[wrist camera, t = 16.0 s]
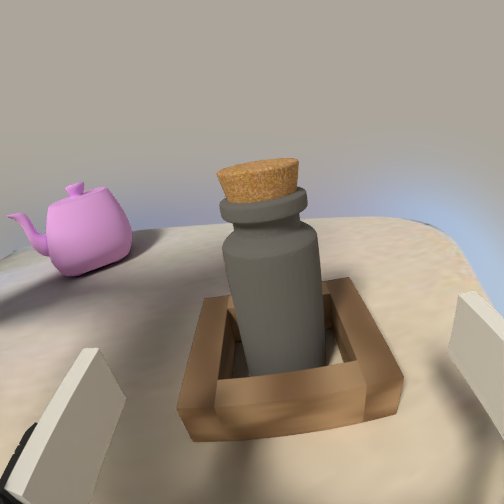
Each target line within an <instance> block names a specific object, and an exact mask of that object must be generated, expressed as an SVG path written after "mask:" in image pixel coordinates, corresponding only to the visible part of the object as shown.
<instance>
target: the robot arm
mask: <svg viewBox="0 0 504 504" xmlns="http://www.w3.org/2000/svg"><path fill="white" fill-rule="evenodd" d="M447 354H448V355H449V357H450V358H451V359H452V361H453V362H454V364H455V365H456V367H457V368H458V369H459V371H460V372H461V374H462V375H463V377H464V378H465V380H466V381H467V383H468V384H469V386H470V387H471V389H472V390H473V392H474V393H475V395H476V396H477V398H478V399H479V401H480V402H481V404H482V405H483V407H484V409H485V410H486V412H487V413H488V415H489V417H490V418H491V420H492V421H493V423H494V425H495V426H496V428H497V430H498V431H499V433H500V435H501V436H502V438H503V440H504V318H503V317H502V316H501V315H500V314H499V313H498V312H497V311H496V310H494V309H493V308H492V307H491V306H490V305H489V304H488V303H487V302H486V301H485V300H484V299H483V298H482V297H481V296H479V295H478V294H477V293H476V292H475V291H470V292H467V293H463V294H459V295H458V300H457V307H456V312H455V318H454V323H453V328H452V333H451V338H450V343H449V347H448V352H447ZM126 400H127V399H126V398H125V396H124V394H123V392H122V390H121V389H120V387H119V385H118V383H117V381H116V379H115V378H114V376H113V374H112V372H111V370H110V368H109V366H108V364H107V362H106V360H105V358H104V356H103V354H102V352H101V350H100V348H83V350H82V351H81V353H80V354H79V356H78V358H77V359H76V361H75V362H74V364H73V365H72V367H71V369H70V370H69V372H68V373H67V375H66V377H65V378H64V380H63V381H62V383H61V385H60V386H59V388H58V390H57V391H56V393H55V395H54V396H53V398H52V400H51V401H50V403H49V405H48V406H47V408H46V410H45V412H44V413H43V415H42V417H41V419H40V420H39V422H38V423H34V424H33V425H32V426H31V427H30V428H29V429H28V430H27V431H26V432H25V434H24V435H23V437H22V439H21V441H20V443H19V444H20V445H18V446H17V448H16V450H15V454H13V455H12V457H11V459H10V461H9V463H8V465H7V467H6V469H5V471H4V473H3V475H2V477H1V479H0V504H89V502H90V499H91V496H92V493H93V490H94V487H95V484H96V481H97V478H98V475H99V472H100V470H101V467H102V464H103V461H104V458H105V455H106V453H107V450H108V447H109V444H110V442H111V439H112V436H113V434H114V431H115V428H116V426H117V423H118V420H119V418H120V415H121V413H122V410H123V407H124V405H125V402H126Z"/></svg>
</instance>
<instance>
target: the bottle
mask: <svg viewBox="0 0 504 504" xmlns="http://www.w3.org/2000/svg"><path fill="white" fill-rule="evenodd" d="M298 163H299V162H298V160H297V159H293V158H280V159H269V160H261V161H254V162H248V163H244V164H239V165H235V166H231V167H227V168H224V169H222V170H220V171H218V172H217V177H218V179H219V181H220V184H221V186H222V189H223V191H224V193H225V196H226V198H225V199H223V200H222V201H221V202H220V212H221V216H222V218H223V219H224V220H225V221H227V222H230V223H233V227H234V231H233V232H232V233H231V234H230V235H229V236H228V237H227V238H226V240H225V241H224V243H223V246H222V250H223V256H224V261H225V267H226V272H227V277H228V281H229V286H230V291H231V295H232V300H233V304H234V309H235V313H236V318H237V322H238V326H239V331H240V335H241V340H242V344H243V348H244V353H245V357H246V361H247V365H248V369H249V373H250V376H251V377H255V376H263V375H271V374H279V373H286V372H293V371H300V370H306V369H313V368H319V367H324V366H326V348H325V327H324V309H323V294H322V280H321V267H320V257H319V248H318V239H317V233H316V231H315V230H314V229H313V228H312V227H311V226H310V225H308V224H306V223H304V222H302V221H300V217H299V213H300V212H302V211H303V210H304V209H305V208H306V207H307V203H308V202H307V194H306V191H305V189H303V188H301V187H297V179H298Z"/></svg>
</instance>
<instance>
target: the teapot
mask: <svg viewBox="0 0 504 504" xmlns="http://www.w3.org/2000/svg"><path fill="white" fill-rule="evenodd" d="M65 189H66V191H67V193H68V194H69V196H70V197H67V198H64V199H62V200H59V201H57V202H54V203H52V204H51V205H50V206H49V208H48V214H47V228H46V234H47V235H42V234H40V233H38V232H37V231H36V230H35V228H34V226H33V225H32V223H31V221H30V219H29V218H28V217H27V216H26V215H25V214H23V213H16V214H12V215H8V216H6V217H8V218H11V219H14V220H16V221H17V222H18V223H19V224H20V225H21V226H22V228H23V230H24V231H25V233H26V235H27V237H28V240H29V241H30V243H31V245H32V246H33V248H34V249H35V250H36V251H37V252H38V253H40V254H42V255H43V256H48V257H50V259H51V262H52V263H53V265H54V266H55V267H56V268H57V269H58V270H59V271H60V272H61V273H62V274H63V275H65V276H79V275H82V274H84V273H86V272H88V271H91V270H94V269H97V268H99V267H102V266H105V265H107V264H110V263H115V262H117V261H119V260H121V259H122V258H123V257H125V256H126V255H127V254H128V253H129V251H130V248H131V244H132V238H133V234H132V230H131V227H130V224H129V221H128V219H127V217H126V215H125V213H124V211H123V209H122V208H121V206H120V204H119V203H118V202H117V200H116V199H115V197H114V196H113V195H112V193H111V192H110V191H109V190H108V189H107V188H106V187H99V188H95V189H91V190H88V191H85V192H83V189H84V182H79V183H75V184H72V185H70V186H68V187H66V188H65Z"/></svg>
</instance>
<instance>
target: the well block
mask: <svg viewBox="0 0 504 504" xmlns="http://www.w3.org/2000/svg"><path fill="white" fill-rule="evenodd" d="M322 294H323V309H324V327H325V329H328V328H332V330H333V333H334V336H335V339H336V342H337V345H338V348H339V350H340V353H341V356H342V359H343V362H344V363H341V364H336V365H330V366H324V367H319V368H313V369H306V370H300V371H293V372H286V373H279V374H271V375H263V376H255V377H245V378H235V379H232V375H233V363H234V350H235V342H238V341H242V340H241V335H240V331H239V326H238V322H237V318H236V313H235V309H234V304H233V300H232V295H227V296H220V297H212V298H204V302H203V306H202V309H201V313H200V317H199V321H198V324H197V328H196V332H195V336H194V340H193V343H192V347H191V351H190V355H189V359H188V363H187V367H186V371H185V375H184V379H183V383H182V387H181V391H180V395H179V399H178V403H177V407H176V409H177V411H178V413H179V415H180V417H181V419H182V421H183V423H184V425H185V427H186V429H187V431H188V433H189V435H190V437H191V439H192V440H193V442H212V441H234V440H248V439H260V438H270V437H279V436H288V435H295V434H302V433H309V432H315V431H321V430H327V429H332V428H338V427H343V426H348V425H353V424H357V423H362V422H366V421H370V420H375V419H379V418H383V417H387V416H390V415H394V414H396V412H397V408H398V403H399V399H400V394H401V389H402V383H403V378H404V376H403V374H402V372H401V370H400V368H399V366H398V364H397V362H396V360H395V359H394V357H393V355H392V353H391V351H390V349H389V347H388V345H387V343H386V342H385V340H384V338H383V336H382V334H381V332H380V331H379V329H378V327H377V325H376V323H375V321H374V320H373V318H372V316H371V314H370V312H369V311H368V309H367V307H366V305H365V304H364V302H363V300H362V298H361V297H360V295H359V293H358V291H357V290H356V288H355V286H354V284H353V283H352V281H351V279H350V278H349V277H347V278H341V279H335V280H328V281H322Z"/></svg>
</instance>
